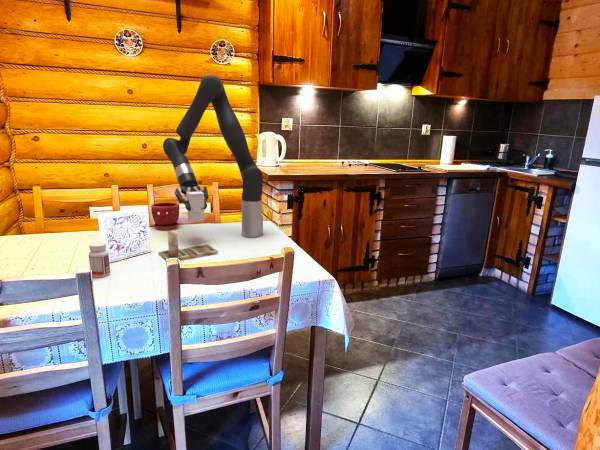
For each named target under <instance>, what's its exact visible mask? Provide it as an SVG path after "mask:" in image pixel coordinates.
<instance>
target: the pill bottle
mask: <svg viewBox="0 0 600 450" xmlns="http://www.w3.org/2000/svg"><path fill="white" fill-rule="evenodd" d="M88 246H89V253H88V261H89V262H88V263H89V268H90V267H91V270H92V276H91V277H93V278H95V279H97V278H104V277H108V276H109V275H110V274H111V267H110V265H111V264H110V256H109V255H110V254H109V250H108V249H107V243H106V242H104V241H95V242H91V243H89V244H88Z"/></svg>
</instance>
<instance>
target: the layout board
mask: <svg viewBox="0 0 600 450" xmlns="http://www.w3.org/2000/svg"><path fill="white" fill-rule="evenodd" d="M157 255H158V256H160V257H161V258H162V259H163V260H164V261H166V259H169V258H171V257H169V249H166V250H161V251H158V252H157ZM178 255H179V256H178V257H175V258H178V259H179V260H180V261H179V262H183V261H188V260H194V259H199V258H204V257H210V256H215V255H216V256H217V255H219V250H218V249H215V247H213V246H211V245H209V244H207V243H204V244H198V245H190V246H187V247H186V248H180V247H178Z"/></svg>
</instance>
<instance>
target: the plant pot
mask: <svg viewBox="0 0 600 450" xmlns="http://www.w3.org/2000/svg"><path fill="white" fill-rule="evenodd" d="M150 207H151V216H152V220H153V222H154V224H153V226H154V228H155V229H157V230H161V231H163V230H164V231H166V230H167V231H171V230H174V229H176V228H178V227H179V225H180V224H179V223H178V221H179V218H180V203H179V202H178V203H177V202H170V201H169V202H166V201H165V202H156V203H152V204H151V205H150Z"/></svg>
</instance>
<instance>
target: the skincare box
mask: <svg viewBox="0 0 600 450" xmlns="http://www.w3.org/2000/svg"><path fill="white" fill-rule="evenodd" d="M187 194H188V201H189V203H190V206H191V210H190V211H188V210H187V220H188V222H190V223H197V222H204V221H205V209H204V193H203V192H202V191H200V192H187Z"/></svg>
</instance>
